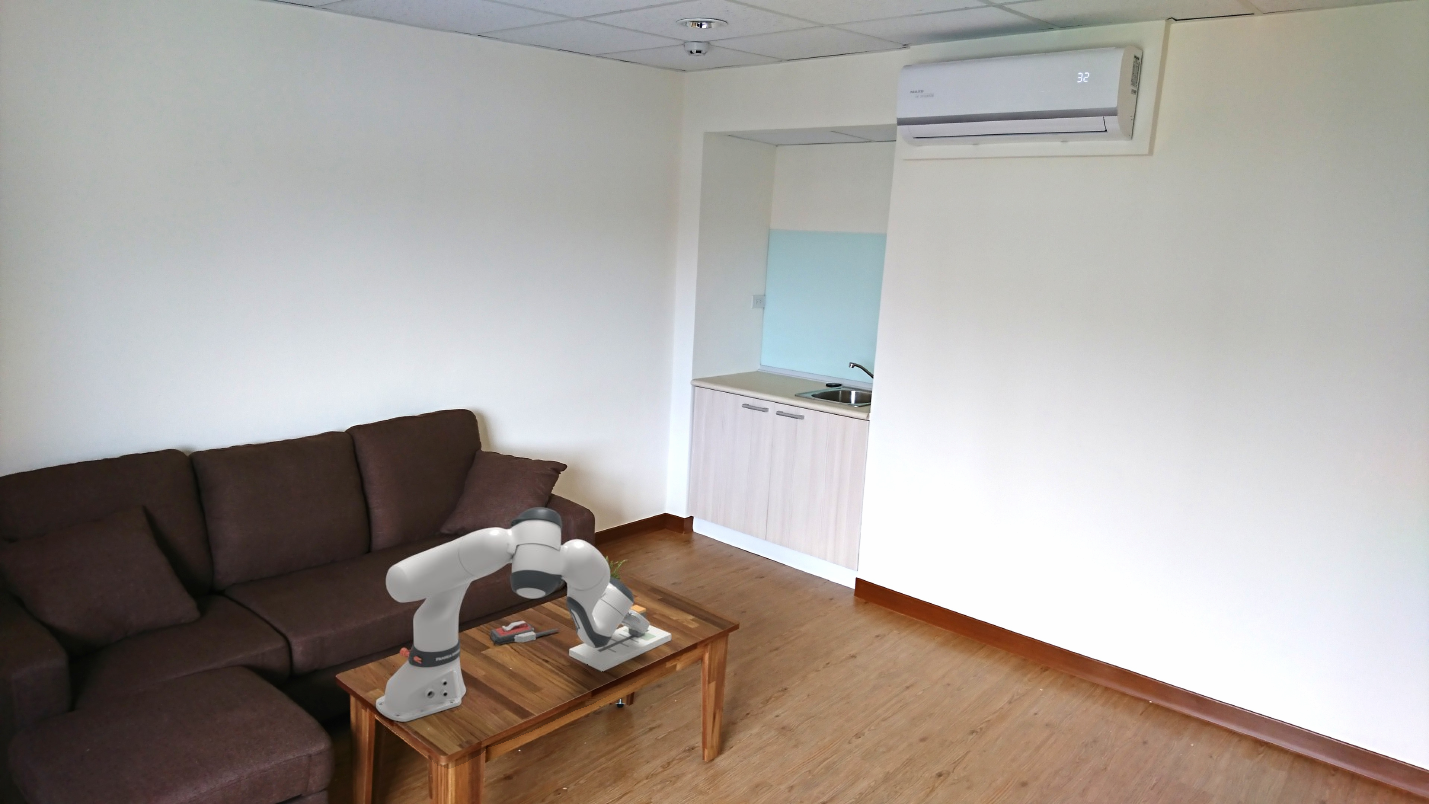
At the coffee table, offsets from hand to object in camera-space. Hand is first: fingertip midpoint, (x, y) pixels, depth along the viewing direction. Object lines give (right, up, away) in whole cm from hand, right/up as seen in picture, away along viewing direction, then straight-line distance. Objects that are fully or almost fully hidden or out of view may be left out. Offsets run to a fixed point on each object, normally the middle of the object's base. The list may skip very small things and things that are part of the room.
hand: (632, 626), depth 270 cm
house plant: (-11, 0, +29) cm, 31 cm away
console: (-3, -6, -2) cm, 7 cm away
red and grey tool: (-33, -4, +4) cm, 34 cm away
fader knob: (+1, -3, +2) cm, 4 cm away
